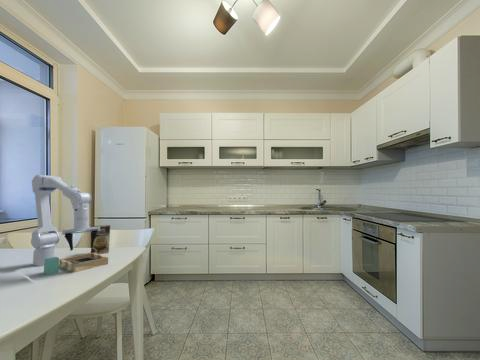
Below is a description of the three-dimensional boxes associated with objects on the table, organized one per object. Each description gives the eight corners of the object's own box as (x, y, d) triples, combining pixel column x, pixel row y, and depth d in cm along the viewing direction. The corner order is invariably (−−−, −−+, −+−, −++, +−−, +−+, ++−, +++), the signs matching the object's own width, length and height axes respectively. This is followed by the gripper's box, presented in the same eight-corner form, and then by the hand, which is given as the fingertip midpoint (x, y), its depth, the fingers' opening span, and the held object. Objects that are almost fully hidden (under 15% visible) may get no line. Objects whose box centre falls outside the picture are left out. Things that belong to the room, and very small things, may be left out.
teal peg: (43, 275, 102) (44, 258, 102) (54, 272, 105) (55, 256, 106) (47, 277, 100) (48, 260, 100) (58, 274, 103) (59, 258, 103)
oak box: (59, 267, 111) (59, 259, 111) (92, 260, 124) (93, 252, 124) (73, 274, 103) (73, 265, 103) (107, 265, 116) (108, 257, 116)
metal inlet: (70, 265, 112) (70, 260, 112) (89, 261, 119) (89, 256, 119) (78, 269, 108) (78, 263, 108) (97, 264, 115) (97, 259, 115)
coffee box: (90, 256, 131) (91, 227, 132) (91, 253, 137) (92, 225, 138) (109, 254, 136) (110, 226, 136) (109, 251, 141) (110, 224, 142)
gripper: (60, 220, 101) (60, 252, 100) (99, 217, 108) (100, 247, 107) (63, 219, 107) (63, 250, 106) (100, 217, 114) (100, 245, 114)
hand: (82, 248), depth 107 cm, fingers open, 7 cm apart
